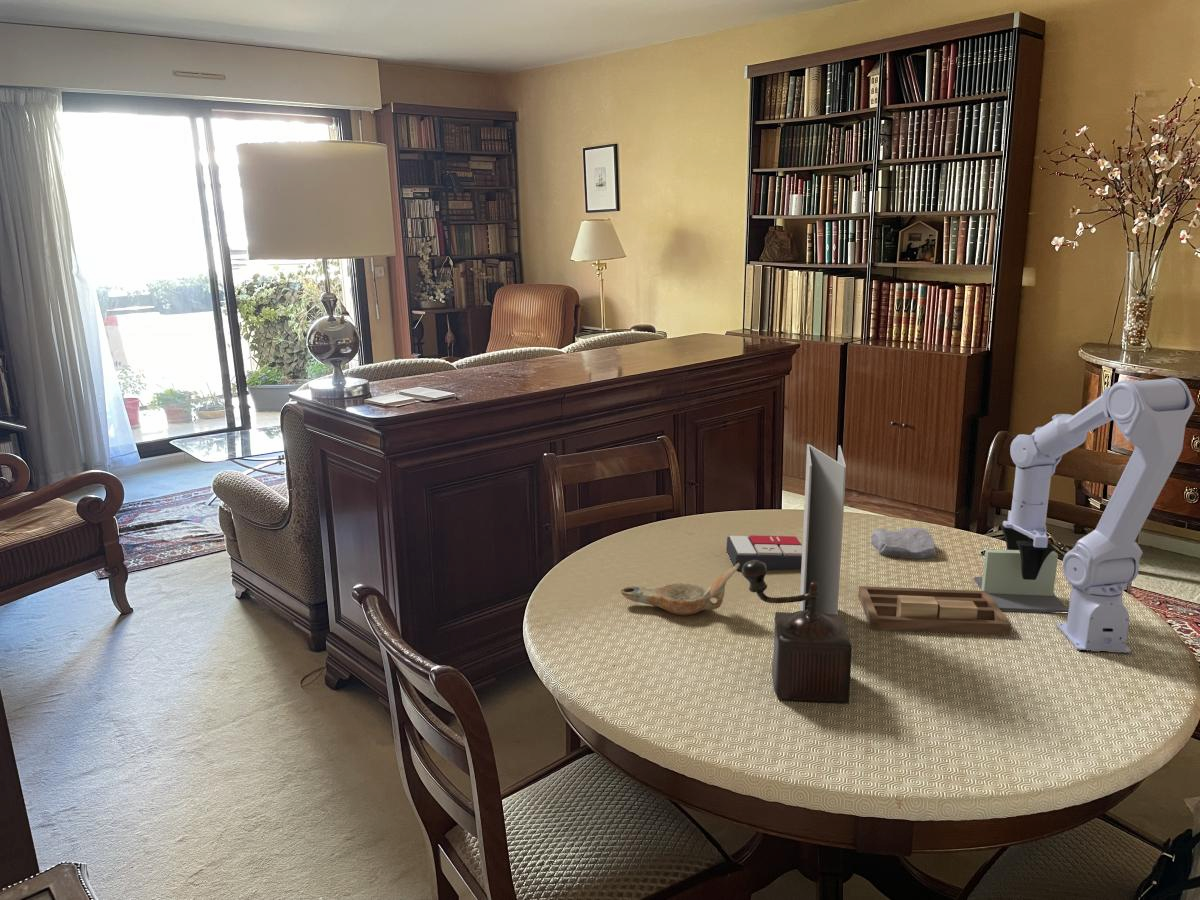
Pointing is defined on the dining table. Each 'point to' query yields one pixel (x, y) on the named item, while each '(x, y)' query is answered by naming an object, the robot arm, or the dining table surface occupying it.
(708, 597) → the oil lamp
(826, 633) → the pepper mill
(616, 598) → the dining table surface
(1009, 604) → the mat
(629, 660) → the dining table surface
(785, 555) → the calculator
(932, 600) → the offcut
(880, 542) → the stone block
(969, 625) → the rack
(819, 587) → the brochure
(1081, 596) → the robot arm
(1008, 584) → the pale green rectangular block
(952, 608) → the offcut
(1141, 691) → the dining table surface
